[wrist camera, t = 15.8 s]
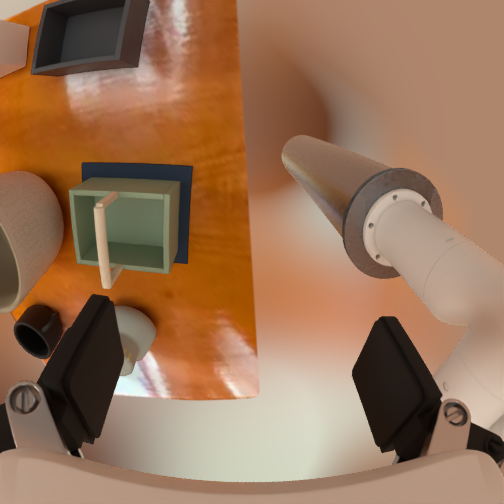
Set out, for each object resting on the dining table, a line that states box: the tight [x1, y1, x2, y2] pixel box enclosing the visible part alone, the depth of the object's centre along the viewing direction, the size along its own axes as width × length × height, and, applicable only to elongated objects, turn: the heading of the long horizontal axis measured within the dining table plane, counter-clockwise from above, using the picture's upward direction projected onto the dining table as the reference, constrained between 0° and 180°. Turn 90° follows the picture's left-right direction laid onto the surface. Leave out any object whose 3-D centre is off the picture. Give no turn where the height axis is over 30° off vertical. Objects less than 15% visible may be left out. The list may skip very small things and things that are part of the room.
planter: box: [0, 170, 64, 313], centre depth 30 cm, size 17×17×15 cm
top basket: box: [69, 177, 181, 289], centre depth 33 cm, size 13×10×12 cm
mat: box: [82, 163, 193, 264], centre depth 38 cm, size 16×14×1 cm
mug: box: [14, 305, 62, 359], centre depth 43 cm, size 12×9×7 cm
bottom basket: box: [31, 0, 150, 76], centre depth 24 cm, size 13×10×6 cm
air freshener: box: [115, 305, 157, 376], centre depth 43 cm, size 11×8×10 cm
